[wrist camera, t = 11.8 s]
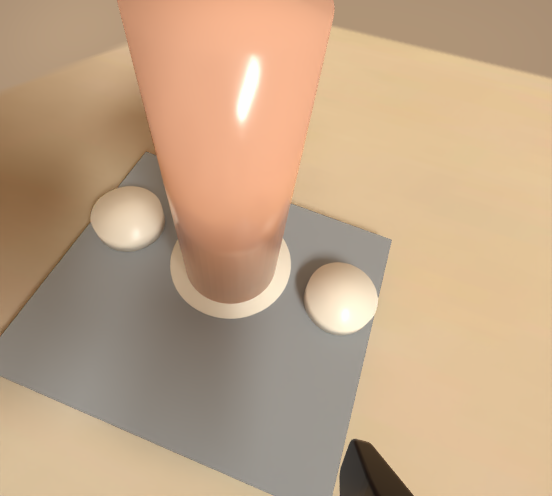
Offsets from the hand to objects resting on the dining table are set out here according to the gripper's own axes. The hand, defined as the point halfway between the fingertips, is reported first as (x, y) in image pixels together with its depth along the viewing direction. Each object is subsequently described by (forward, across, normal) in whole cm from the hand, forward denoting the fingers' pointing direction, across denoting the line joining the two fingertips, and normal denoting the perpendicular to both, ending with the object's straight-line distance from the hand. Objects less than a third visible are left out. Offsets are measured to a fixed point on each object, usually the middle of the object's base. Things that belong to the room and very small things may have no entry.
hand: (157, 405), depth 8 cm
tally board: (+11, 0, +2) cm, 11 cm away
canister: (+12, 0, 0) cm, 12 cm away
